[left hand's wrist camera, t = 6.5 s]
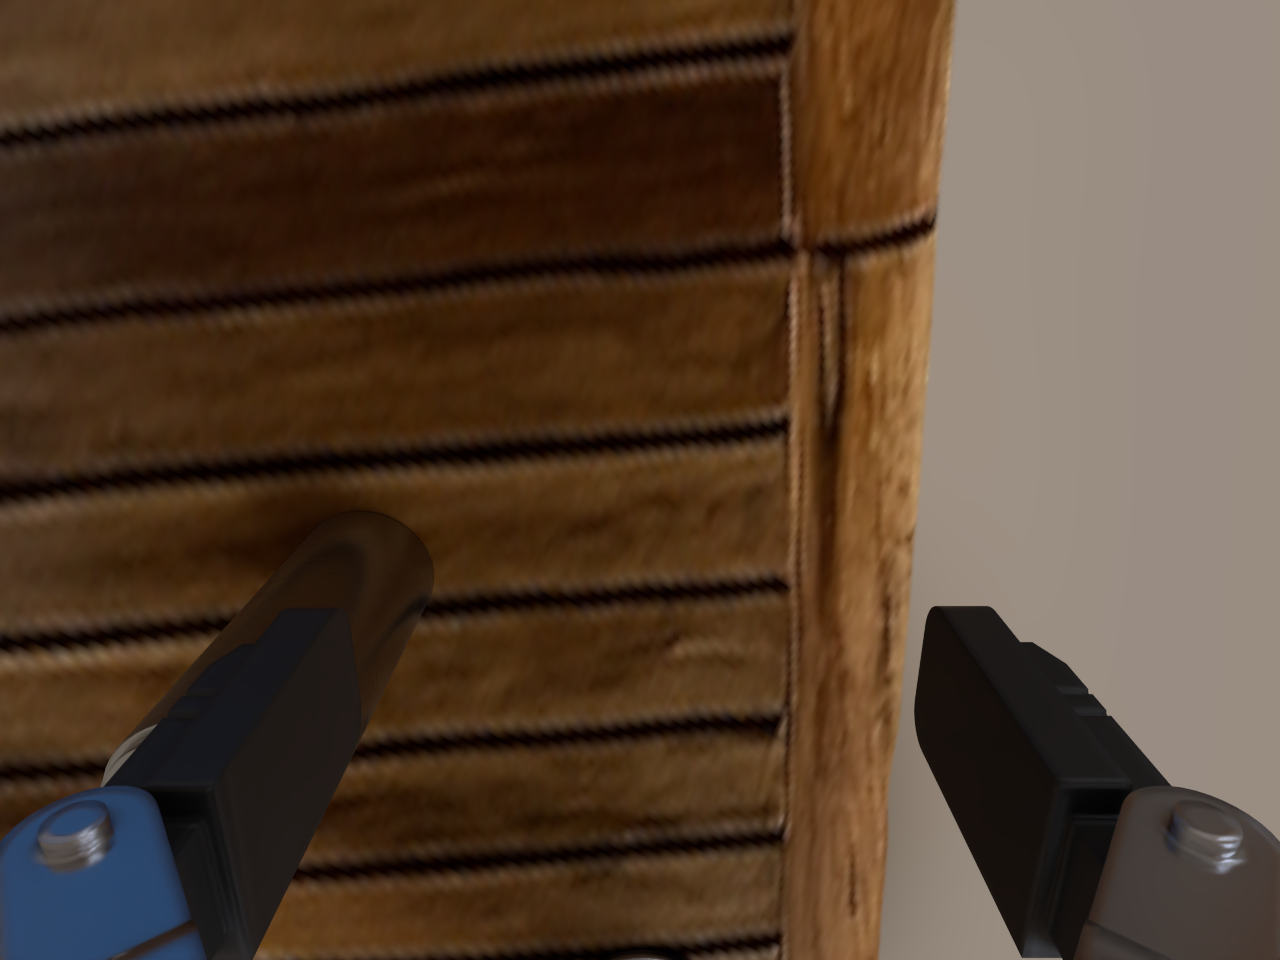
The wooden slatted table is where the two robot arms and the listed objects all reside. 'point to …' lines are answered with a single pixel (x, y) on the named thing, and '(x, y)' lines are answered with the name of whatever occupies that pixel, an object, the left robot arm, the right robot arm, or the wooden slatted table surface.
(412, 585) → the bottle
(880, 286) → the wooden slatted table surface
